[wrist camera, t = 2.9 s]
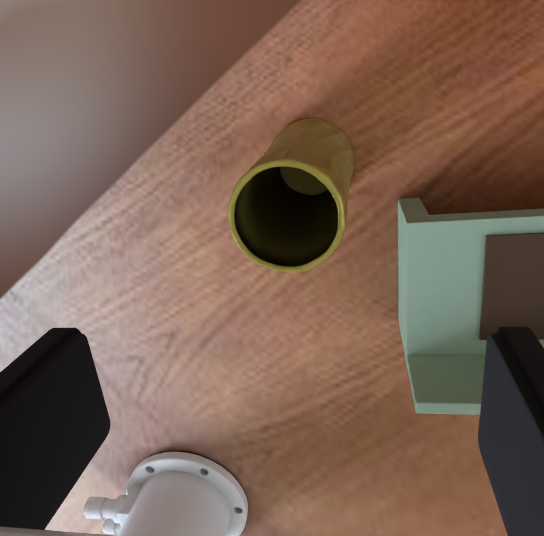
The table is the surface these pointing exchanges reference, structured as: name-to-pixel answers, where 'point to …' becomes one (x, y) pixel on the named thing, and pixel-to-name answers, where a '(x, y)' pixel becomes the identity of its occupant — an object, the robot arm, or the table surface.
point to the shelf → (464, 296)
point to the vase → (294, 198)
